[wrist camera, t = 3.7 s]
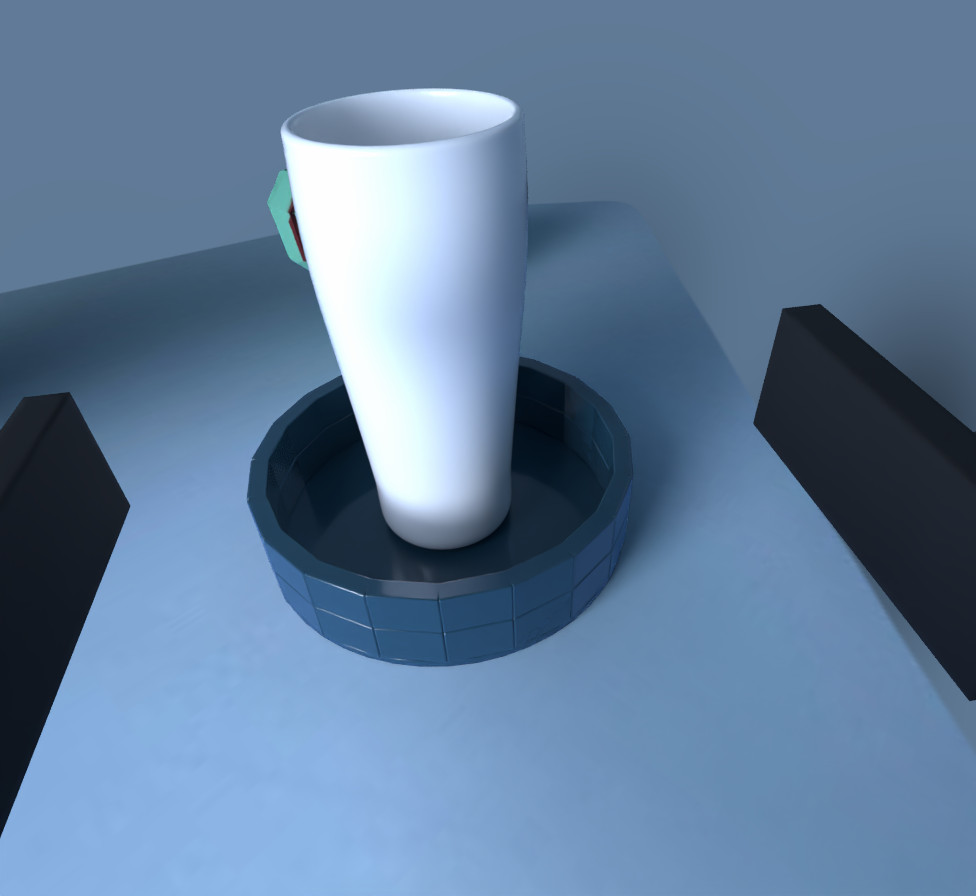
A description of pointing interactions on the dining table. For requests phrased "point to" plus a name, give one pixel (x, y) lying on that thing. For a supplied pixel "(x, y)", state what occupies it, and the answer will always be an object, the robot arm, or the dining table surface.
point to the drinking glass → (421, 291)
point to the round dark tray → (455, 572)
